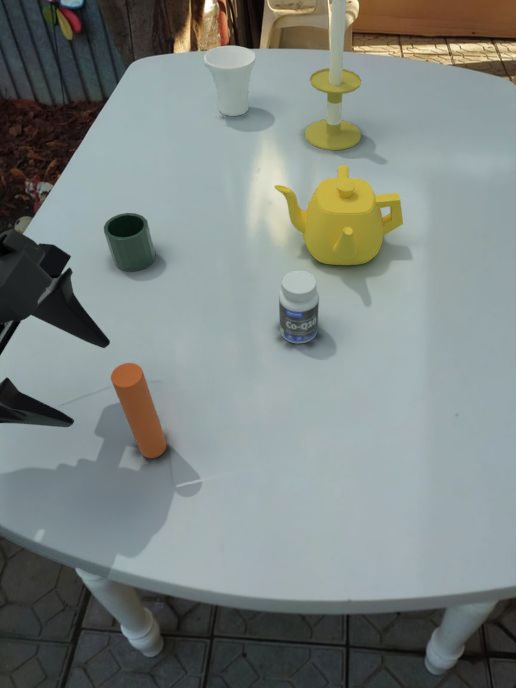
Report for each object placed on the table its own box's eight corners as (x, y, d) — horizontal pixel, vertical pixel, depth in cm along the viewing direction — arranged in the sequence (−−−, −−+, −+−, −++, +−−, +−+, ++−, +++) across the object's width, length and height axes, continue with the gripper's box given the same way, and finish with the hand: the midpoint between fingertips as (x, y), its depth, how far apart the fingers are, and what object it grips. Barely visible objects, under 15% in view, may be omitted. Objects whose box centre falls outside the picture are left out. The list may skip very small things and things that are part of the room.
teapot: (275, 242, 84) (272, 183, 77) (340, 204, 91) (343, 145, 83) (344, 291, 78) (348, 232, 71) (408, 246, 85) (418, 187, 77)
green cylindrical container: (115, 274, 79) (105, 242, 75) (112, 248, 82) (102, 216, 78) (157, 267, 80) (150, 235, 76) (152, 241, 84) (144, 209, 79)
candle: (362, 151, 101) (378, -28, 80) (304, 149, 100) (305, -30, 80) (360, 121, 107) (374, -51, 87) (305, 119, 107) (306, -53, 86)
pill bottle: (284, 348, 72) (283, 299, 65) (276, 320, 74) (274, 271, 68) (322, 340, 72) (324, 292, 66) (312, 314, 75) (313, 264, 69)
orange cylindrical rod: (141, 461, 61) (112, 390, 51) (138, 439, 63) (109, 366, 53) (168, 454, 62) (144, 382, 52) (164, 432, 63) (140, 359, 54)
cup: (201, 104, 109) (194, 49, 102) (247, 94, 112) (243, 40, 105) (219, 127, 104) (212, 70, 97) (266, 116, 107) (264, 60, 100)
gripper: (-126, 329, 36) (98, 443, 44) (11, 161, 48) (167, 274, 56) (-169, 392, 42) (33, 481, 50) (-39, 230, 54) (108, 323, 62)
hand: (90, 382), depth 54 cm, fingers open, 9 cm apart
